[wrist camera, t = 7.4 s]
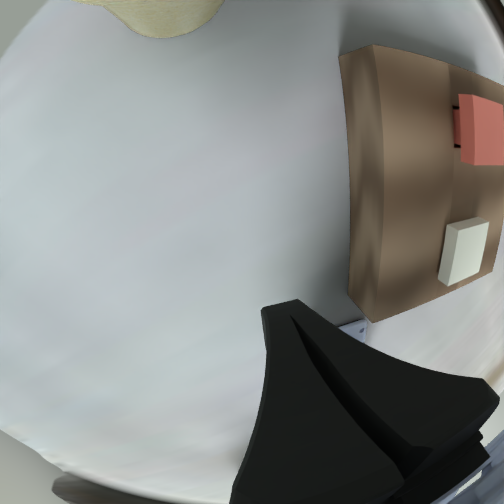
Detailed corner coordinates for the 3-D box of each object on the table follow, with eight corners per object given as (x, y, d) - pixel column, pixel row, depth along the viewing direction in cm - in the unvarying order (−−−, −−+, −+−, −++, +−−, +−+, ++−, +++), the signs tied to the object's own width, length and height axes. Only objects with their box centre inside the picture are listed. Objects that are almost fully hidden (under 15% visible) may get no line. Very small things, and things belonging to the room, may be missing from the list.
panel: (467, 255, 24) (492, 271, 21) (347, 295, 22) (372, 323, 19) (475, 85, 17) (506, 87, 13) (338, 56, 15) (372, 44, 11)
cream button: (440, 247, 22) (478, 272, 18) (407, 257, 22) (447, 286, 17) (445, 201, 21) (489, 221, 16) (412, 207, 20) (458, 230, 15)
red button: (455, 152, 18) (503, 165, 13) (420, 151, 17) (474, 165, 13) (452, 100, 16) (503, 105, 11) (417, 93, 15) (472, 94, 11)
